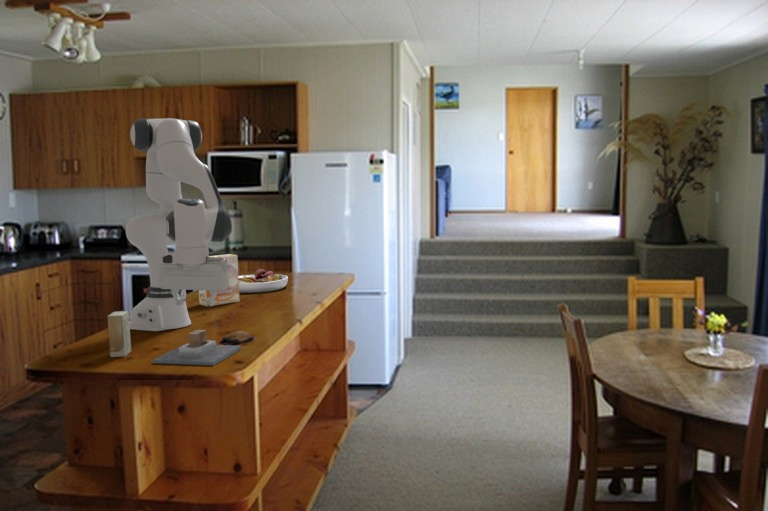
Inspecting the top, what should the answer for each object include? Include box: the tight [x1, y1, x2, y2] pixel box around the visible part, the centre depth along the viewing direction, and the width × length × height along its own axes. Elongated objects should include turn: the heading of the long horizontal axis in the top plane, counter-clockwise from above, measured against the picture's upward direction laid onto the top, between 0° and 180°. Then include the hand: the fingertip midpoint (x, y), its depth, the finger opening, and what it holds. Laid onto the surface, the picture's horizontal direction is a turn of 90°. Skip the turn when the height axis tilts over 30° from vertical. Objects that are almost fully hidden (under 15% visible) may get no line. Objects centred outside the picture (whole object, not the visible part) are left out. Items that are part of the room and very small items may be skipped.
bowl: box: [238, 268, 289, 294], centre depth 311 cm, size 30×30×8 cm
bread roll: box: [218, 330, 258, 346], centre depth 208 cm, size 11×8×4 cm
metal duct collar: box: [152, 339, 242, 367], centre depth 191 cm, size 18×18×4 cm
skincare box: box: [107, 310, 132, 358], centre depth 194 cm, size 6×4×12 cm
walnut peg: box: [187, 329, 207, 347], centre depth 190 cm, size 5×3×6 cm, turn 168°
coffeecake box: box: [198, 253, 240, 307], centre depth 274 cm, size 15×7×20 cm, turn 131°
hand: (194, 305), depth 189 cm, fingers open, 8 cm apart
